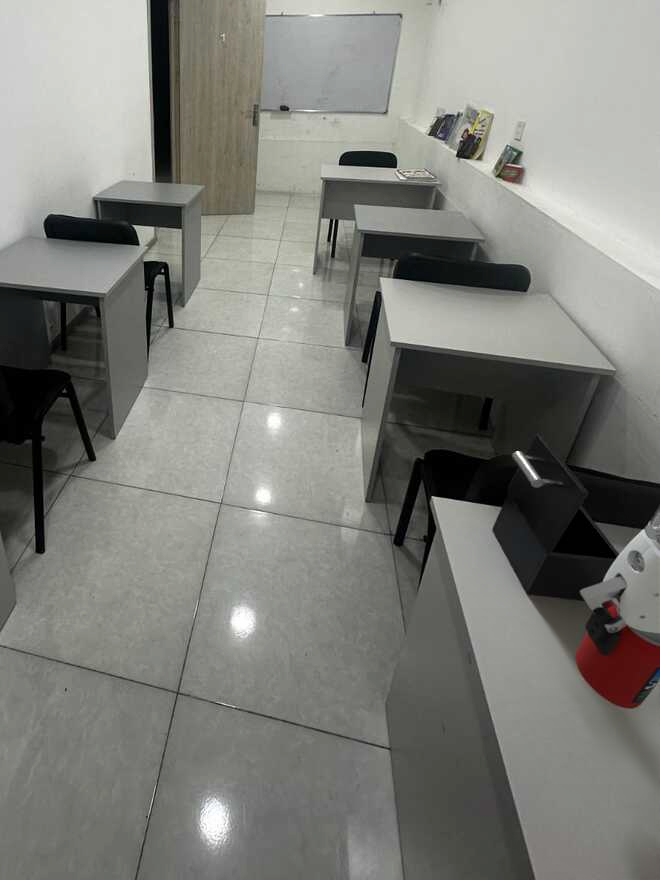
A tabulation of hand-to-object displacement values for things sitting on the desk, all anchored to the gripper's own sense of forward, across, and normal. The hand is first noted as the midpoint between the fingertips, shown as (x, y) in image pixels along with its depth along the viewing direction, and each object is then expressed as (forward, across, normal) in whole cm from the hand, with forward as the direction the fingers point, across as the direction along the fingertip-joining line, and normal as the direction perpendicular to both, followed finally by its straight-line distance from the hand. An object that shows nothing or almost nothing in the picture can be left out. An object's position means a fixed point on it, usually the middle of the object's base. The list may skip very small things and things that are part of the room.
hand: (629, 644), depth 56 cm
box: (+19, +10, +24) cm, 32 cm away
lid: (+2, +5, +24) cm, 25 cm away
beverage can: (+7, 0, 0) cm, 7 cm away
